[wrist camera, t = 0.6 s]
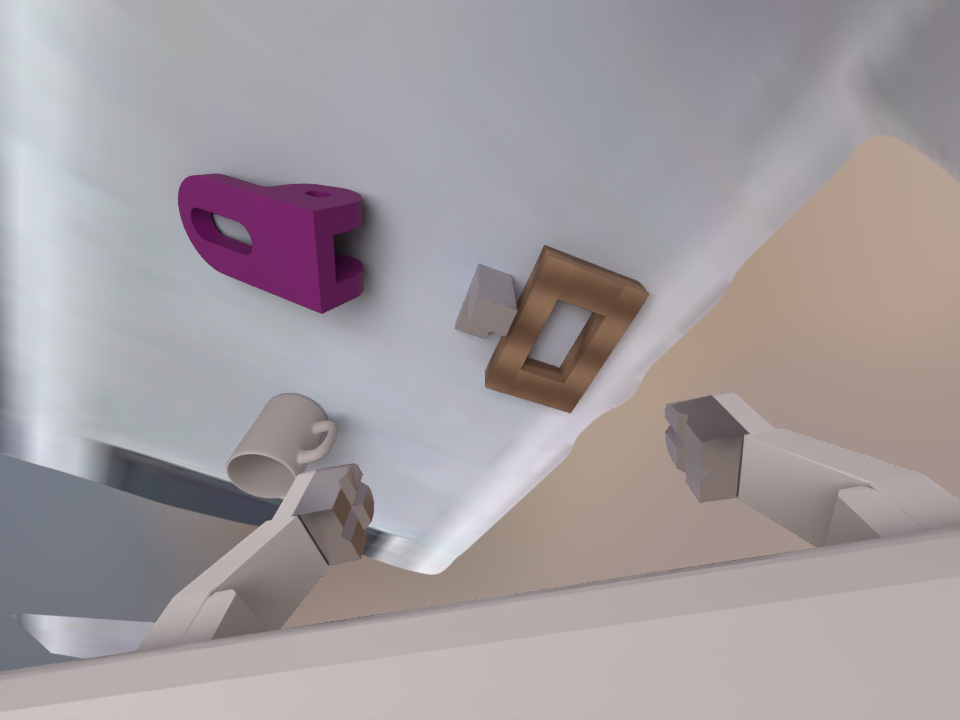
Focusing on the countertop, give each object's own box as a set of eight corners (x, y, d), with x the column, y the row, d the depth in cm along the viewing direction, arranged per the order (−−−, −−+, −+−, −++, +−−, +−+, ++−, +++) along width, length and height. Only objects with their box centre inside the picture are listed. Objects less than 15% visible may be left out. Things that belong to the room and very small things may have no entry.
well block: (544, 245, 43) (549, 255, 40) (638, 281, 45) (649, 294, 42) (485, 371, 52) (485, 387, 49) (565, 396, 55) (570, 413, 52)
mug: (284, 441, 60) (248, 503, 50) (254, 398, 55) (209, 458, 46) (358, 428, 58) (336, 490, 49) (334, 383, 54) (304, 442, 44)
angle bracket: (478, 263, 44) (478, 297, 37) (511, 275, 45) (517, 310, 37) (455, 322, 48) (451, 363, 41) (486, 332, 49) (486, 374, 42)
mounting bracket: (260, 244, 49) (378, 287, 44) (192, 261, 42) (321, 314, 37) (246, 160, 44) (378, 198, 39) (167, 165, 37) (313, 211, 32)
